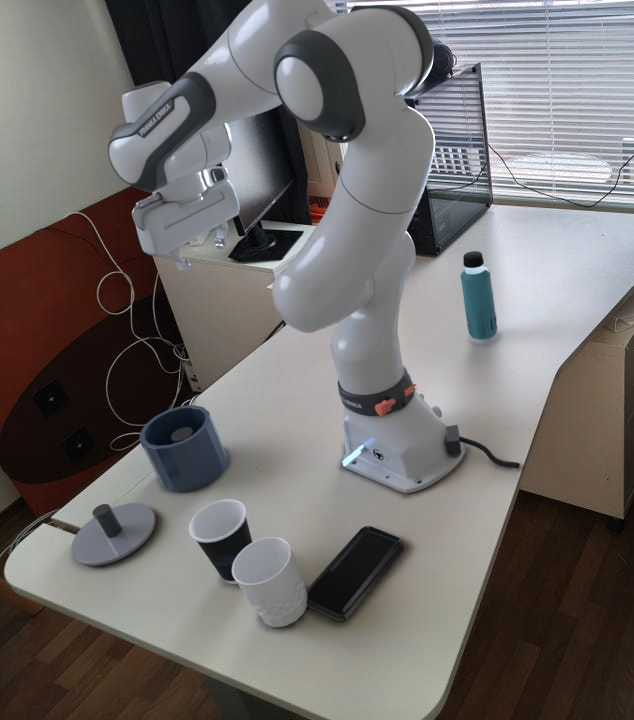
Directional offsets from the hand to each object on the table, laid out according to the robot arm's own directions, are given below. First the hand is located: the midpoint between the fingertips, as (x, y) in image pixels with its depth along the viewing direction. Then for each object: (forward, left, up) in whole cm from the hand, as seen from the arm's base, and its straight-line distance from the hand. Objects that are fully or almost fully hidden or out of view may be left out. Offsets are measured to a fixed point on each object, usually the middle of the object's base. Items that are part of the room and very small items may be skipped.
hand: (204, 258), depth 125 cm
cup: (-12, +19, -31) cm, 38 cm away
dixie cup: (-40, +25, -31) cm, 56 cm away
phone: (-54, +14, -31) cm, 64 cm away
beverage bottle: (-24, -43, -31) cm, 58 cm away
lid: (-17, +35, -30) cm, 49 cm away
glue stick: (-13, +18, -30) cm, 38 cm away
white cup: (-51, +24, -31) cm, 64 cm away
